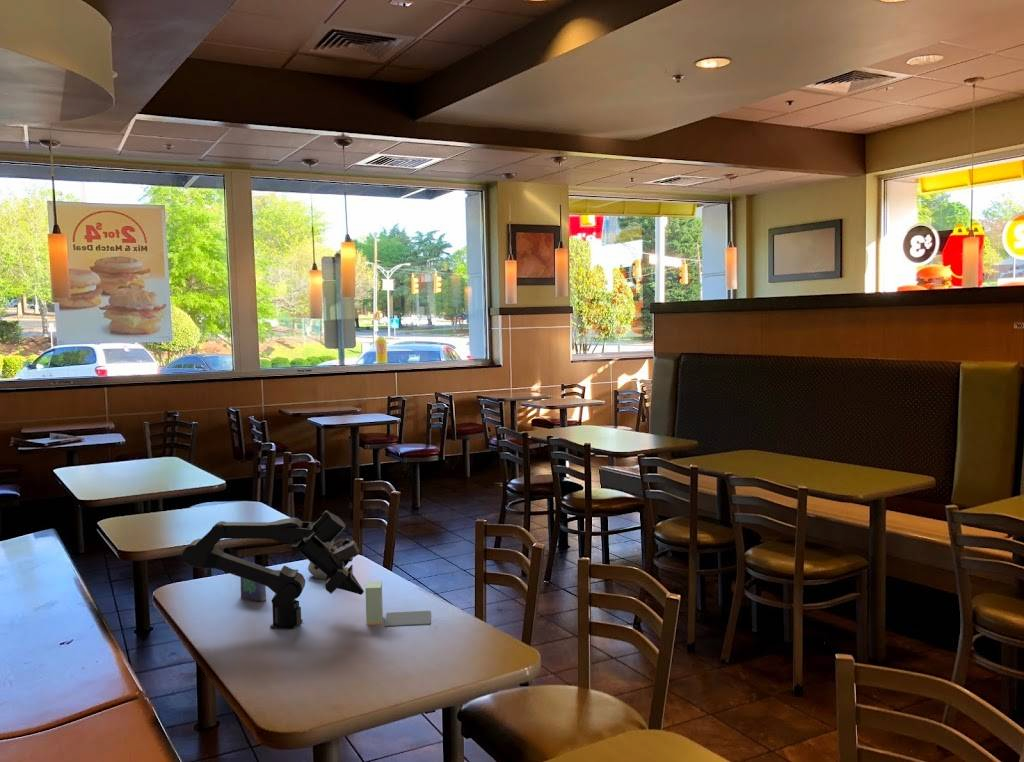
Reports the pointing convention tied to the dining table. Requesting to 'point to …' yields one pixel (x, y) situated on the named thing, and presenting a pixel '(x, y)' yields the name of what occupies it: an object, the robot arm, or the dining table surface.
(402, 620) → the mat
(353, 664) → the dining table surface
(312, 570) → the coffee pot
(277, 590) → the robot arm
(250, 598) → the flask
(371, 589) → the block
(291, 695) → the dining table surface
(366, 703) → the dining table surface
